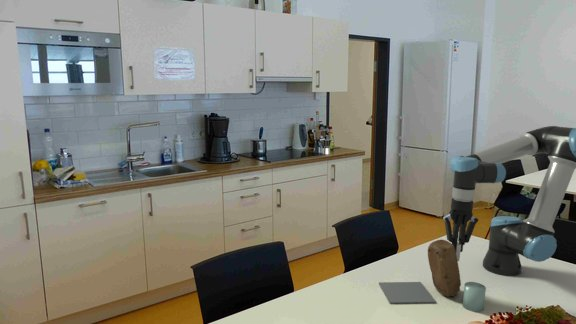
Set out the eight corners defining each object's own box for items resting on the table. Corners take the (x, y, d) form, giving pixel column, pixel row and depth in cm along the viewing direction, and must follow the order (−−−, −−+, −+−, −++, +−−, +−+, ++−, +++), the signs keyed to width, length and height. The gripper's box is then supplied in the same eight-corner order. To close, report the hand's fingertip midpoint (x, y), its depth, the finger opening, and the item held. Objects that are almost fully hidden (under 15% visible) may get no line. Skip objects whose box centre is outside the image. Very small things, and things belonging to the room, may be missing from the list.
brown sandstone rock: (464, 293, 161) (457, 244, 157) (447, 300, 159) (439, 250, 155) (446, 281, 171) (439, 235, 167) (430, 287, 169) (422, 241, 165)
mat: (420, 283, 173) (420, 281, 173) (435, 303, 157) (435, 301, 157) (378, 283, 172) (378, 282, 172) (389, 303, 156) (389, 302, 156)
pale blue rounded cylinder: (478, 302, 158) (479, 281, 157) (487, 311, 151) (489, 290, 150) (459, 302, 158) (461, 281, 156) (468, 312, 151) (470, 291, 150)
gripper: (474, 197, 163) (467, 256, 166) (441, 196, 162) (435, 255, 166) (484, 202, 155) (477, 264, 159) (449, 201, 154) (443, 263, 158)
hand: (455, 259), depth 162 cm, fingers closed
